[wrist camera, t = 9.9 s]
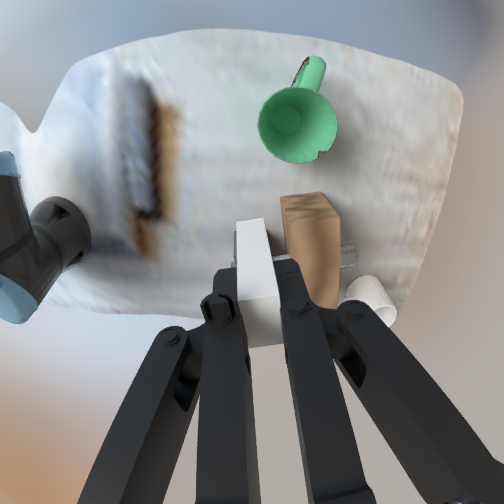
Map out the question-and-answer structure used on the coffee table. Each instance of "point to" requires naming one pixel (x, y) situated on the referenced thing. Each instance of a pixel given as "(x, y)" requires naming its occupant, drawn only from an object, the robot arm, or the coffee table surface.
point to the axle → (346, 256)
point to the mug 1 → (299, 117)
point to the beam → (314, 244)
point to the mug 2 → (372, 297)
